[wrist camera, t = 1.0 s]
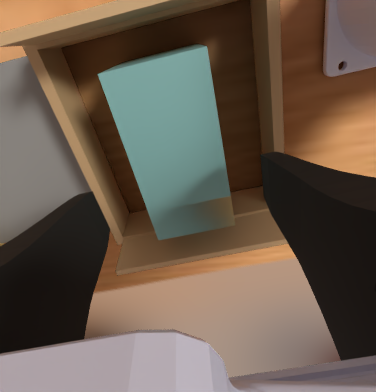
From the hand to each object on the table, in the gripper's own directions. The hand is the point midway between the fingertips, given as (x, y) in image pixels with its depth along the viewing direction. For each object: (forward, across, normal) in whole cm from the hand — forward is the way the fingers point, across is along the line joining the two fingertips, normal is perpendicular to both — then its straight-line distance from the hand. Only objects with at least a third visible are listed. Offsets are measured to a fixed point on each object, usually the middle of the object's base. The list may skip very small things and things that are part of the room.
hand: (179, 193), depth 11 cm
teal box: (+8, 0, 0) cm, 8 cm away
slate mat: (+8, +11, 0) cm, 14 cm away
